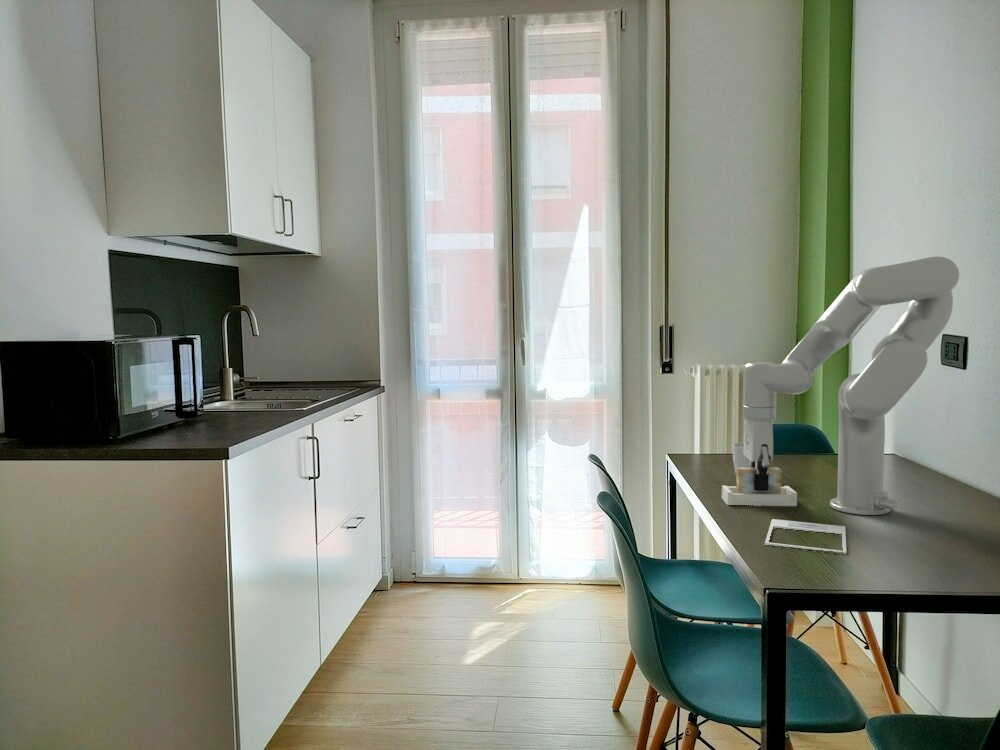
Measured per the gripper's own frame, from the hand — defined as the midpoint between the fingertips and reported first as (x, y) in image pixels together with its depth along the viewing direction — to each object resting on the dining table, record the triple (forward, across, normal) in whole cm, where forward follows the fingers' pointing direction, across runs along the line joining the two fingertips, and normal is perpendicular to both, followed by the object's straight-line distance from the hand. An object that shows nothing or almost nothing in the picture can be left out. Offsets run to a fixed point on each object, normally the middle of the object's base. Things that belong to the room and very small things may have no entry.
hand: (758, 487), depth 173 cm
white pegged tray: (+4, 0, 0) cm, 4 cm away
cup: (+4, -22, +3) cm, 22 cm away
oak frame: (+2, 0, 0) cm, 2 cm away
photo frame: (+4, +27, +3) cm, 27 cm away
